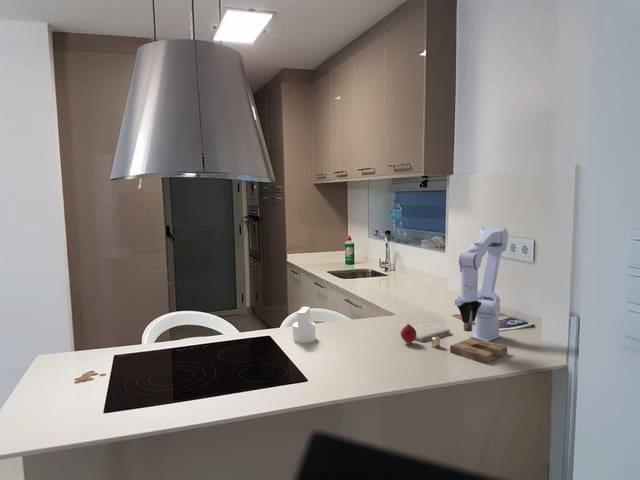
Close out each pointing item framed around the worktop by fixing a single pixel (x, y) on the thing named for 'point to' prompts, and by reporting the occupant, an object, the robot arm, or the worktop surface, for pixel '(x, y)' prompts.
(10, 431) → the worktop surface
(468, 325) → the long steel pin
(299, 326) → the base with upright slab
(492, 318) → the robot arm
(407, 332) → the onion
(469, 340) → the walnut hole plate
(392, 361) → the worktop surface
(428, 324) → the washcloth
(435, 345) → the short brass pin
